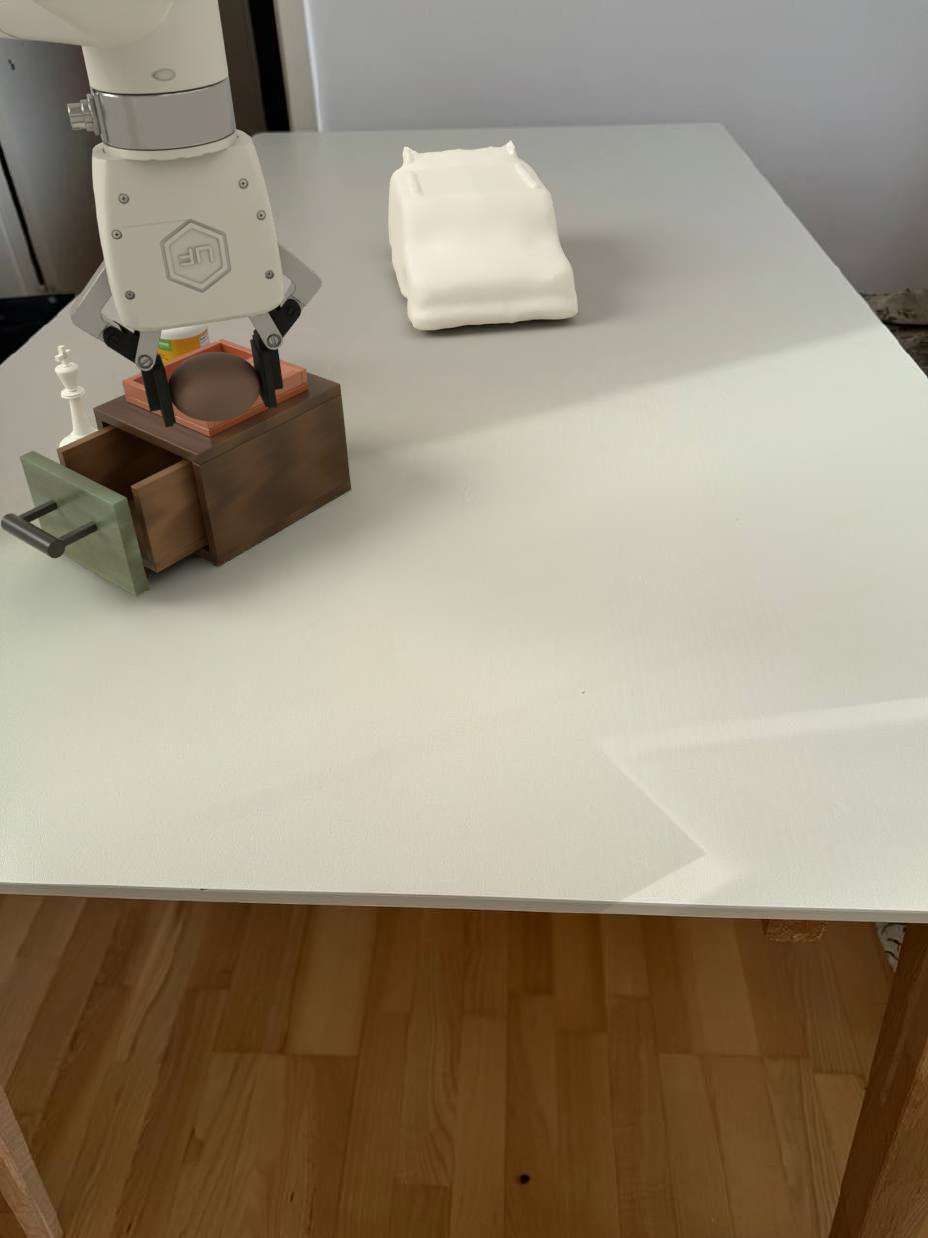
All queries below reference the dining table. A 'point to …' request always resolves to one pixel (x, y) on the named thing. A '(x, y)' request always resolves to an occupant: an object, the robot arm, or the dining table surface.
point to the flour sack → (476, 240)
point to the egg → (214, 386)
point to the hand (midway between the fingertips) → (218, 406)
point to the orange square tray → (292, 386)
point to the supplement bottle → (182, 341)
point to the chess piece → (72, 396)
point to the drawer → (112, 507)
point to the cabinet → (254, 464)
